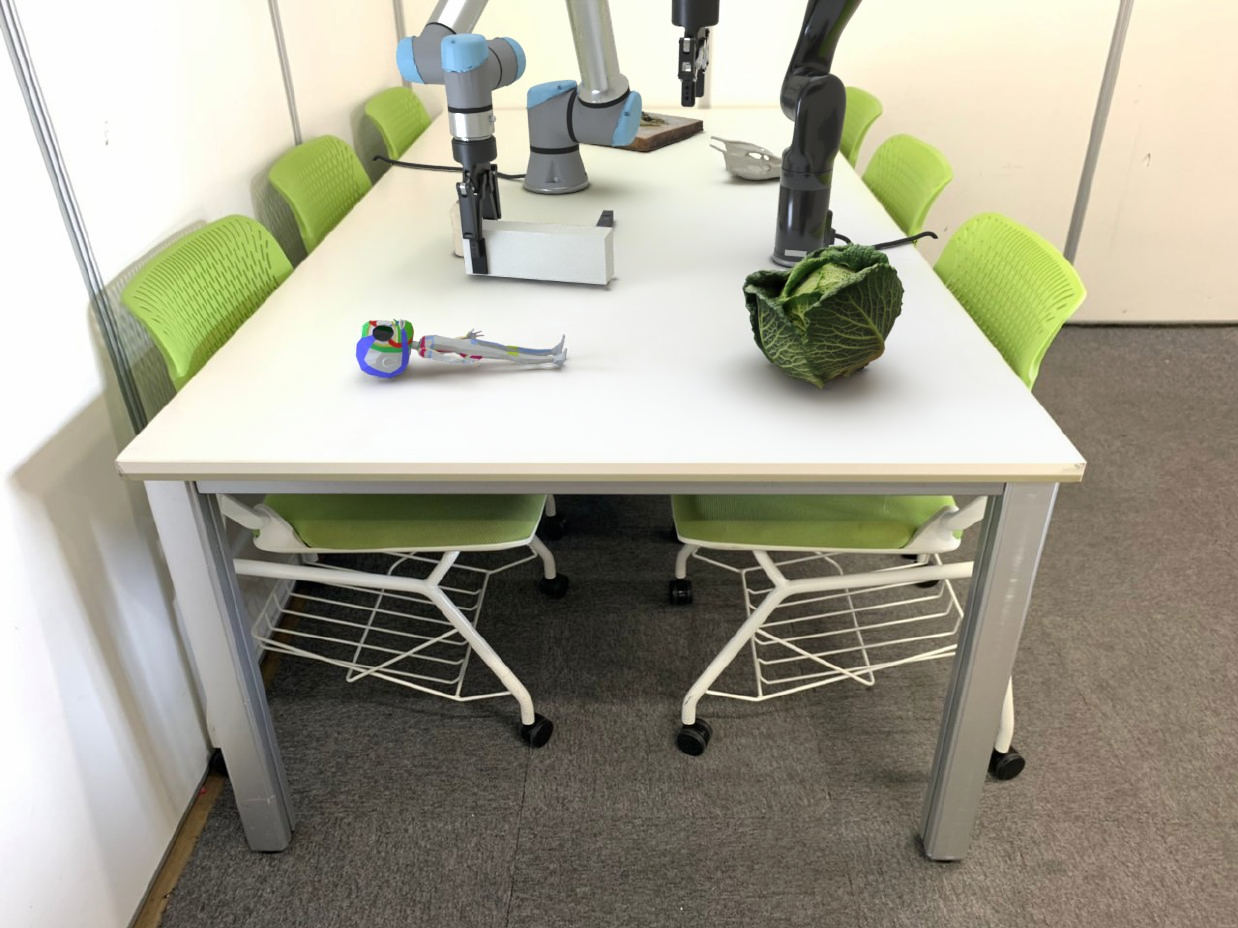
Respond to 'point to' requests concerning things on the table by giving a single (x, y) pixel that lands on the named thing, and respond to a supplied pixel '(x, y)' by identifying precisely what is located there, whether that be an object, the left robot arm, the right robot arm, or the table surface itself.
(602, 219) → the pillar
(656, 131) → the plaque
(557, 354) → the toy
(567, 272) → the bar
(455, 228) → the candle
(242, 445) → the table surface
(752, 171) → the anatomical model
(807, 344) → the vegetable
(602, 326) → the table surface
